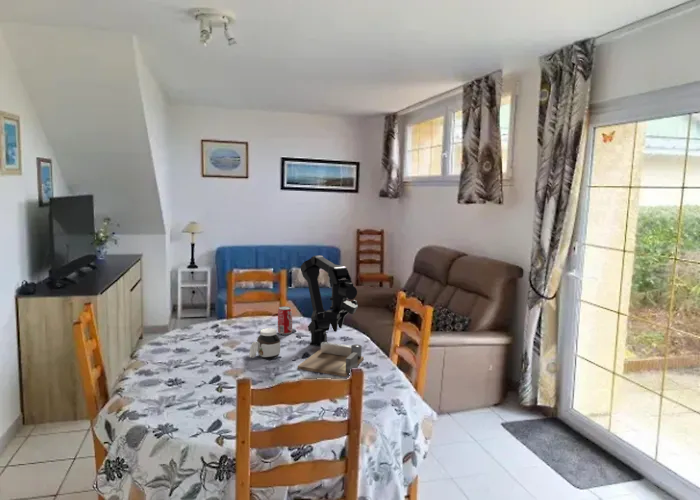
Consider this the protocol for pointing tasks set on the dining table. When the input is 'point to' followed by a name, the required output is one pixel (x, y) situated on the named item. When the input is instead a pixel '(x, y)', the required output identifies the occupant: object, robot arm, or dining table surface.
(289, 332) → the soda can
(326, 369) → the frame
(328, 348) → the latch bar
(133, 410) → the dining table surface
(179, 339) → the dining table surface
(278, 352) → the spread jar
